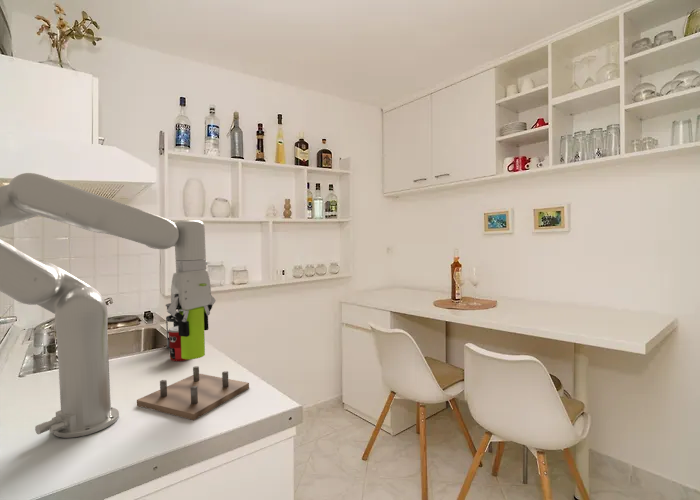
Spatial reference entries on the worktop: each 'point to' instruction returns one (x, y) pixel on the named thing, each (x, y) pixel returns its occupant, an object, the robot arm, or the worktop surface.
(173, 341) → the canned food
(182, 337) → the soap dispenser
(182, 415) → the peg stand
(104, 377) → the robot arm
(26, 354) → the worktop surface
